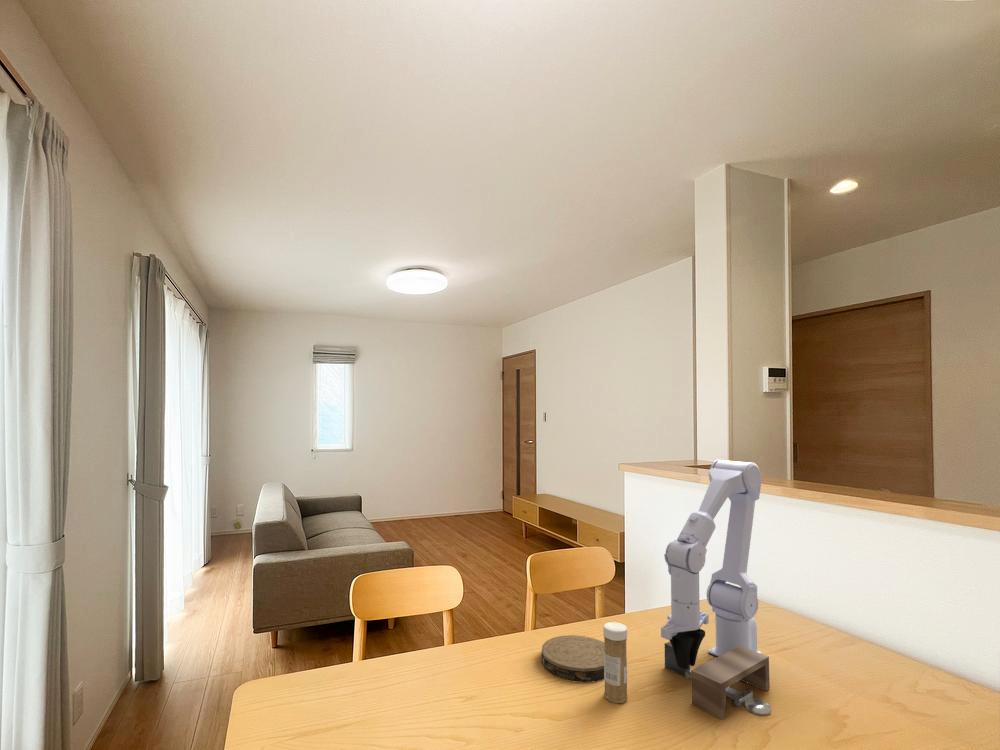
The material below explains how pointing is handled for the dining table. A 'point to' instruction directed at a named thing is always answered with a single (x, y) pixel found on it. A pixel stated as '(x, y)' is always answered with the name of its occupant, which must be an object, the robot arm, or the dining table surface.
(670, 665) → the blade tool
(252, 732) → the dining table surface
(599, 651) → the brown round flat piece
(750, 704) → the steel token
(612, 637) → the sprinkles bottle
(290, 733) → the dining table surface
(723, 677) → the walnut shelf
